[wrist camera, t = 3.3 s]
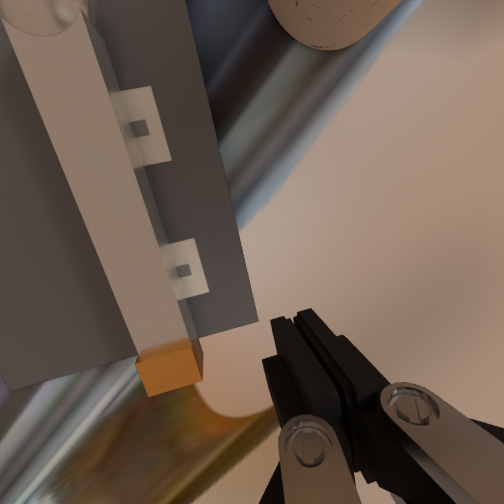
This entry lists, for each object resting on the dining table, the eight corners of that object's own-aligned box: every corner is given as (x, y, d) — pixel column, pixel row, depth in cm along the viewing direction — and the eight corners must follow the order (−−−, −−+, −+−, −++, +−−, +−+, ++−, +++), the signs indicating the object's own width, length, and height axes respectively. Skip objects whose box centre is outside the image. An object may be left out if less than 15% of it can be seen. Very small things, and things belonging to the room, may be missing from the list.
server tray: (183, 1, 15) (179, -28, 13) (255, 311, 21) (260, 325, 19) (-164, 50, 13) (-233, 26, 11) (25, 375, 19) (4, 397, 17)
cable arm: (7, -20, 11) (-64, -93, 8) (88, -31, 12) (47, -104, 9) (157, 366, 18) (147, 403, 15) (207, 352, 18) (207, 384, 15)
